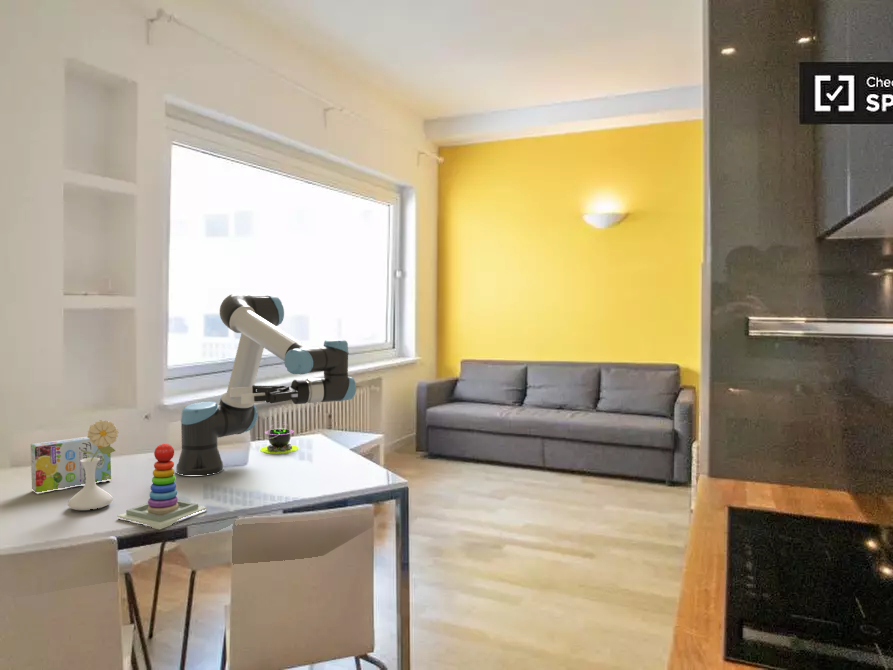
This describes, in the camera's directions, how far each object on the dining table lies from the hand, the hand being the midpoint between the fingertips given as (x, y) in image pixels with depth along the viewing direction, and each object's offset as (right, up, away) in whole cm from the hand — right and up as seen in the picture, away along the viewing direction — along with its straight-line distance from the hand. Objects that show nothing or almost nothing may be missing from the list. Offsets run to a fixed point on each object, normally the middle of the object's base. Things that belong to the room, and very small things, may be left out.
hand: (235, 395), depth 188 cm
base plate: (-17, -32, -9) cm, 38 cm away
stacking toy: (-17, -31, -9) cm, 37 cm away
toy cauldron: (-5, -28, +70) cm, 76 cm away
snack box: (-57, -31, +16) cm, 67 cm away
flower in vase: (-40, -32, -3) cm, 51 cm away
